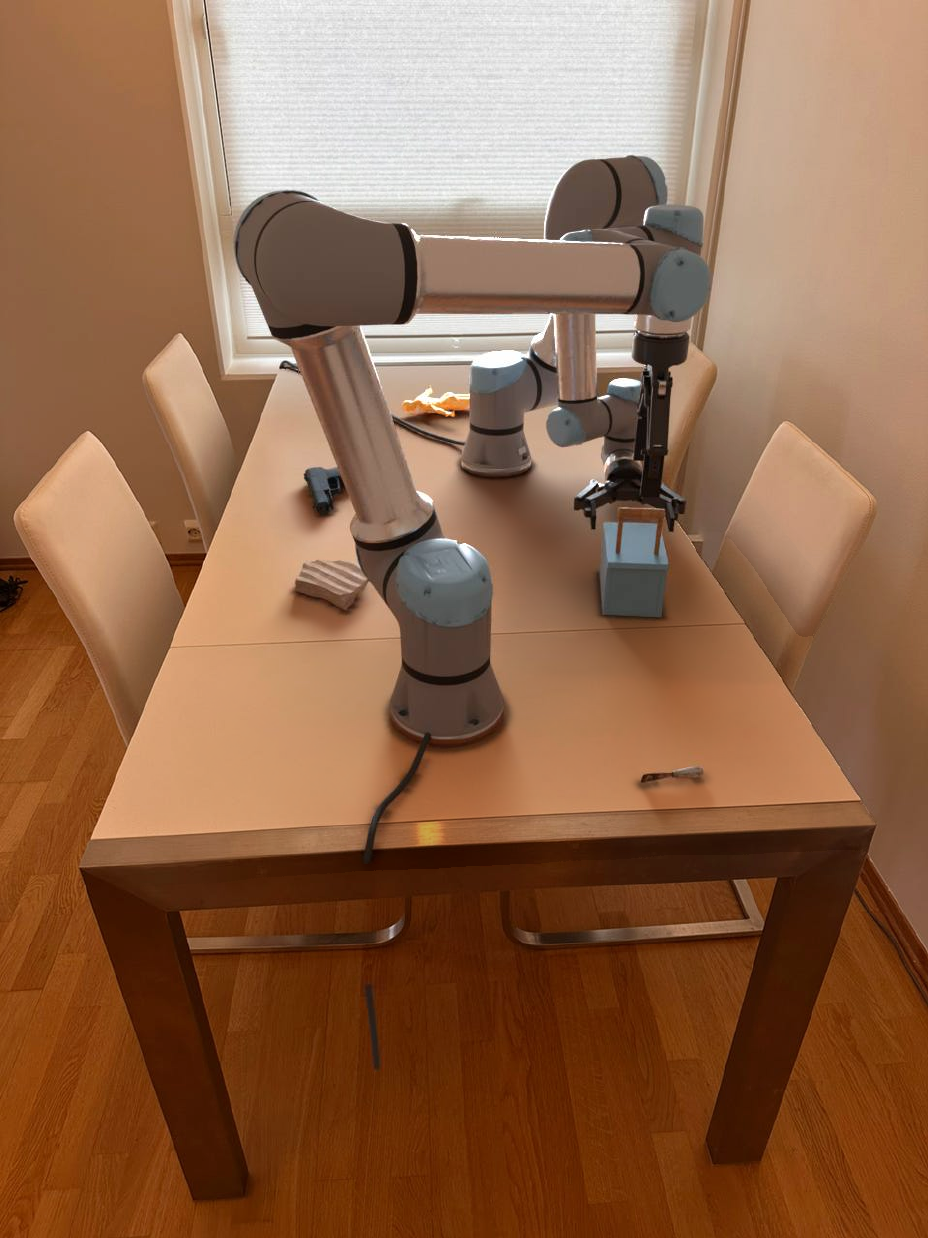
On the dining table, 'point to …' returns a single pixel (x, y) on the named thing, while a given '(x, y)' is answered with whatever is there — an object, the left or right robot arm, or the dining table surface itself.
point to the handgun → (323, 487)
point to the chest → (631, 590)
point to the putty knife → (674, 774)
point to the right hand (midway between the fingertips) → (632, 524)
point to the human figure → (437, 403)
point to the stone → (331, 581)
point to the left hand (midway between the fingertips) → (645, 477)
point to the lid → (636, 540)
